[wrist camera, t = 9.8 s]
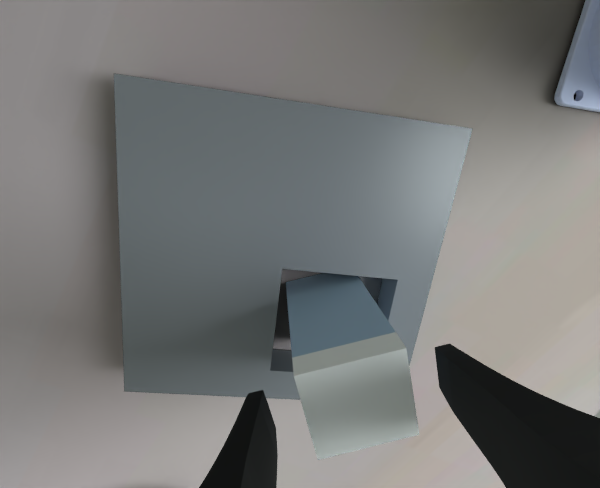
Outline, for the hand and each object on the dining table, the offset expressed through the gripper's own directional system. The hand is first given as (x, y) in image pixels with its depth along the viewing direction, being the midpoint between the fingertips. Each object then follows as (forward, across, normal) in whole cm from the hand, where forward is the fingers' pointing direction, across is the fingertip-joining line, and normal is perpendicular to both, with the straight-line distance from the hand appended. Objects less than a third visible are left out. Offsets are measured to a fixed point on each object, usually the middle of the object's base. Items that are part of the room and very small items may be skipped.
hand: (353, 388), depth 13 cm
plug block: (+7, 0, 0) cm, 7 cm away
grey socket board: (+7, +2, -4) cm, 8 cm away
